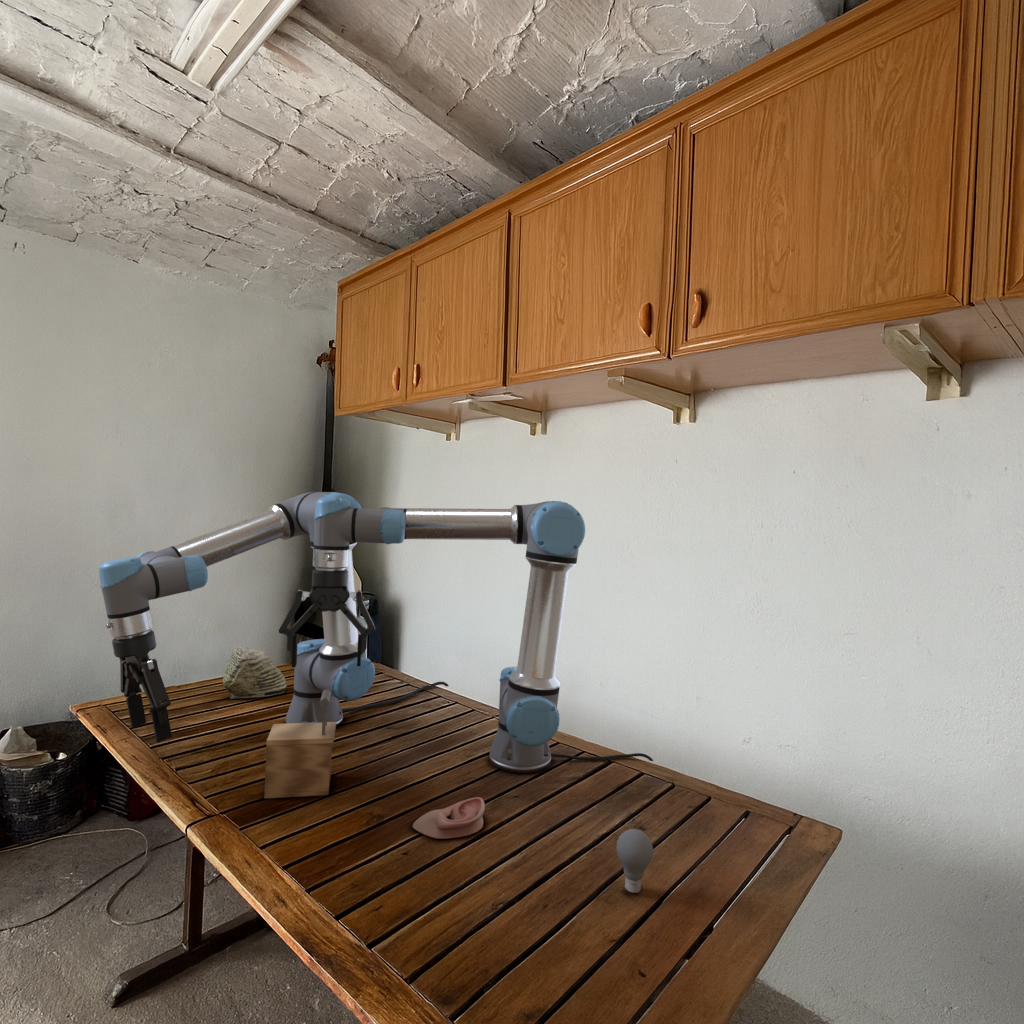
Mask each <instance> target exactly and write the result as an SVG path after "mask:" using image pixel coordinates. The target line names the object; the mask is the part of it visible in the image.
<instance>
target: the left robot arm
mask: <svg viewBox="0 0 1024 1024" xmlns="http://www.w3.org/2000/svg"><path fill="white" fill-rule="evenodd" d="M320 498H338V499H349V500H350V501H351V506H352V508H358V509H363V508H362V506H361V504H360V503H359V502H358V500H356V498H354V497H353V496H352V495H349V494H347V493H342V492H339V491H309V492H304V493H301V494H298V495H296V496H293V497H290V498H288V499H285V500H284V501H279V502H278V503H276V504H273V505H270V506H269V509H268V510H267V511H265V512H261V513H259V514H256V515H253V516H251V517H248V518H245V519H242V520H240V521H237V522H234V523H230V524H229V525H225V526H224V527H220V528H217V529H215V530H212V531H210V532H207V533H204V534H201V535H198V536H196V537H192V538H190V539H188V540H185V541H182V542H179V543H177V544H173V545H171V546H169V547H168V546H167V547H165V548H162V549H159V550H157V551H153V550H152V551H149V550H148V551H145V552H141V553H140V554H138V555H136V556H130V557H123V558H122V557H121V558H116V559H111V560H108V561H105V562H102V563H101V564H100V566H99V567H98V574H99V582H100V588H101V593H102V598H103V602H104V607H105V611H106V617H107V621H108V623H106V625H105V627H106V629H109V633H110V637H113V639H112V640H111V645H112V649H113V655H114V657H116V658H119V663H120V664H119V667H120V669H119V671H120V674H119V675H120V676H119V677H120V678H119V679H120V682H119V683H120V693H121V694H123V696H124V697H125V698H126V699H125V701H126V706H127V710H128V715H129V720H130V726H131V728H132V729H134V728H137V727H140V726H142V725H145V724H147V718H146V712H145V707H144V701H143V697H142V694H141V693H143V692H144V694H145V696H146V698H147V700H148V703H149V705H150V707H151V708H149V709H148V713H149V714H150V715H151V719H152V720H151V721H152V726H153V732H154V737H155V742H156V743H161V742H163V741H166V740H168V739H171V738H172V737H173V733H172V729H171V723H170V719H169V713H168V707H170V706H171V705H172V703H171V701H170V697H169V695H168V691H167V689H166V687H165V683H164V681H163V678H162V676H161V673H160V670H159V665H158V660H157V659H156V658H153V659H152V658H150V656H149V653H150V652H151V651H153V650H155V649H156V647H157V640H156V635H155V631H154V630H152V629H153V627H154V622H153V617H152V616H153V615H152V612H151V611H152V610H151V607H150V601H152V600H156V599H160V598H165V597H169V596H173V595H178V594H181V593H186V592H192V591H194V590H195V591H196V590H197V589H200V588H204V587H205V586H206V585H207V583H208V578H209V577H208V576H209V575H208V567H210V566H212V565H215V564H217V563H221V562H223V561H225V560H228V559H231V558H234V557H236V556H238V555H241V554H243V553H245V552H248V551H250V550H253V549H256V548H258V547H261V546H263V545H265V544H268V543H270V542H273V541H275V540H278V539H281V540H283V541H285V540H289V539H291V538H295V537H299V536H309V545H310V548H311V549H312V550H313V548H314V517H315V509H316V502H317V500H318V499H320ZM357 544H358V542H349V565H348V567H347V568H346V570H347V571H348V591H349V592H355V591H356V588H355V576H354V574H355V573H354V563H353V562H354V561H353V549H354V548H355V547H356V545H357ZM345 604H346V605H347V606H348V608H349V609H350V610H351V611H352V613H353V614H354V615H355V616H356V617H357V618H358V614H357V601H353V599H352V598H351V597H349V598H348V600H347V601H346V602H345ZM321 615H322V625H323V626H322V627H323V637H324V638H318V639H308V640H303V641H300V642H299V643H298V645H297V665H296V667H294V672H293V673H294V674H293V695H292V696H293V697H292V699H291V702H290V704H289V708H288V711H287V713H286V715H285V724H287V723H318V722H322V713H323V707H321V706H320V700H321V696H322V692H323V691H324V690H329V691H330V692H331V696H330V702H329V705H328V708H327V722H336V728H337V727H339V726H340V725H342V723H343V722H344V714H343V713H347V712H354V711H360V710H365V709H372V708H375V707H376V708H377V707H381V706H385V705H390V704H393V703H397V702H400V701H403V700H406V699H408V698H410V697H411V696H413V695H416V694H418V693H420V692H422V691H424V690H426V689H431V688H433V687H436V686H440V685H441V686H442V685H443V686H445V687H449V686H450V685H449V684H448V683H447V682H445V681H436V682H434V683H430V684H427V685H424V686H421V687H419V688H417V689H415V690H412V691H411V692H409V693H406V694H405V695H402V696H399V697H397V698H393V699H389V700H385V701H384V700H383V701H379V702H375V703H371V704H365V705H358V706H352V707H351V706H350V707H346V708H342V706H341V702H340V700H342V701H346V702H353V701H357V700H359V699H360V698H362V697H363V696H365V695H366V693H368V692H369V689H370V688H372V686H373V684H374V681H375V677H376V668H375V664H374V663H373V662H372V661H371V659H369V657H367V655H366V650H361V666H357V652H358V634H359V631H358V630H357V629H356V627H355V626H354V625H353V624H352V623H351V621H350V620H349V619H348V618H347V617H346V615H345V614H344V613H343V612H342V611H341V610H338V611H336V612H332V611H326V612H321ZM429 685H431V686H429ZM141 687H142V688H141ZM142 689H143V690H142Z"/></svg>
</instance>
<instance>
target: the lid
mask: <svg viewBox="0 0 1024 1024" xmlns="http://www.w3.org/2000/svg"><path fill="white" fill-rule="evenodd" d="M330 696H331V692H330V691H329V690H324V691H323V692H322V696H321V700H320V706H321V707H323V713H322V722H318V723H287V724H286V723H273V724H272V725H271V729H270V732H269V734H268V736H267V738H266V744H265V745H266V746H274V745H300V744H325V743H332V744H334V742H335V735H336V730H337V729H336V728H337V727H336V722H327V708H328V705H329V702H330ZM266 746H265V747H266Z"/></svg>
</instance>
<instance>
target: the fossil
mask: <svg viewBox="0 0 1024 1024" xmlns="http://www.w3.org/2000/svg"><path fill="white" fill-rule="evenodd" d="M222 676H223V677H222V685H223V687H224V688H225V690H226V691H228V693H229V698H230V699H250V698H264V697H271V696H275V695H281V694H284V693H285V691H286V689H287V687H288V686H287V680H286V678H285V676H284V674H283V673H282V672H281V669H279V668H278V667H277V665H276V663H275V662H274V660H273V659H272V658H271V657H270V656H269V655H268V654H267V653H266V652H265V650H264V649H263V648H260V647H258V648H251V647H247V646H246V647H245V646H238V647H237V648H236V649H235V650H233V651H232V653H231V656H230V657H229V659H228V660H227V663H226V666H225V668H224V671H223V675H222Z"/></svg>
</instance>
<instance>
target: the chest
mask: <svg viewBox="0 0 1024 1024" xmlns="http://www.w3.org/2000/svg"><path fill="white" fill-rule="evenodd" d="M265 747H266V748H265V772H264V773H265V775H264V799H278V798H297V797H316V796H329V793H330V786H331V777H332V759H333V757H332V756H333V743H325V744H300V745H274V746H265Z"/></svg>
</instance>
